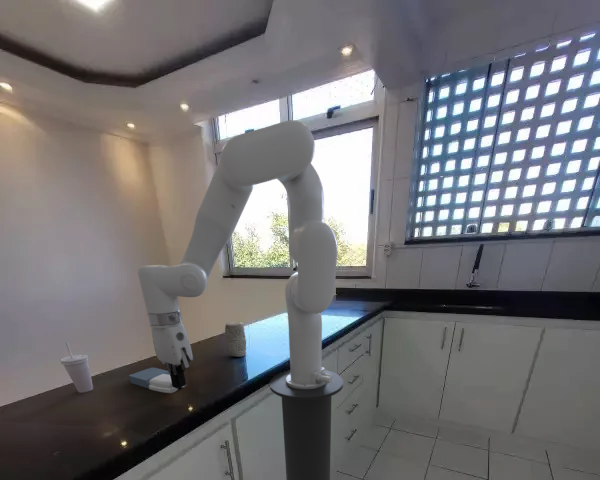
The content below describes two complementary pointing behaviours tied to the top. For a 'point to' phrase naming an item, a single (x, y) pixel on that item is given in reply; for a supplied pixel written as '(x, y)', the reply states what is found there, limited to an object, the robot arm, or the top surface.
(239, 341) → the carving
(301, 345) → the robot arm
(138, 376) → the rubber pad
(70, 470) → the top surface
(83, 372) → the smoothie
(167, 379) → the white clamshell food container
